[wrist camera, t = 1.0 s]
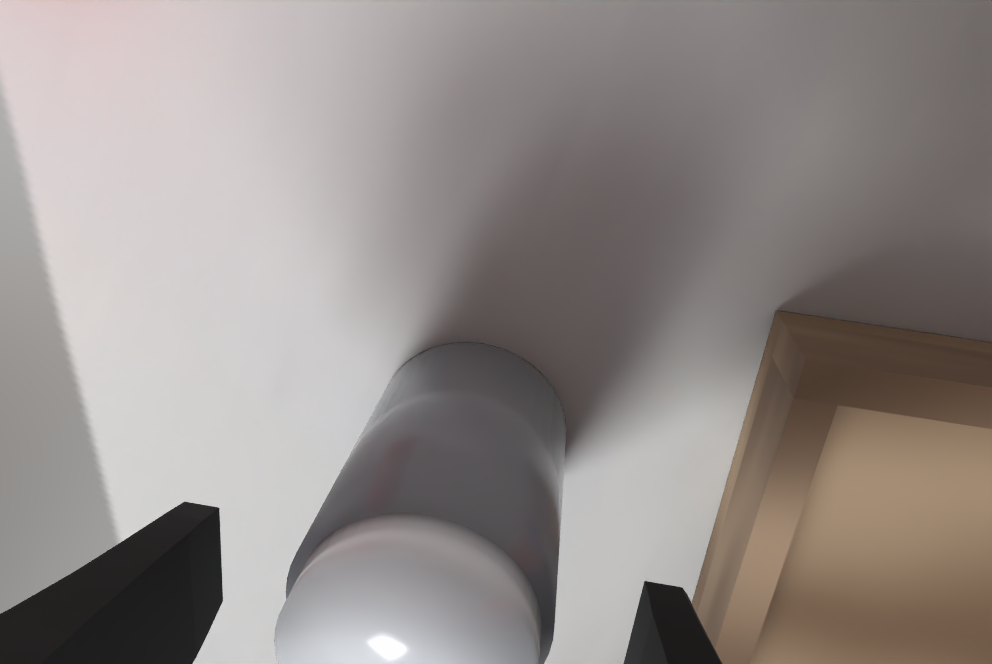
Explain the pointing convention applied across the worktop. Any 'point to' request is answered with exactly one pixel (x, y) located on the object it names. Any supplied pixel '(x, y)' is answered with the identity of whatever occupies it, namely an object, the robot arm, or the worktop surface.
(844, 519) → the walnut tray
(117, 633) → the robot arm
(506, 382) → the cylinder
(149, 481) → the worktop surface
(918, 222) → the worktop surface
